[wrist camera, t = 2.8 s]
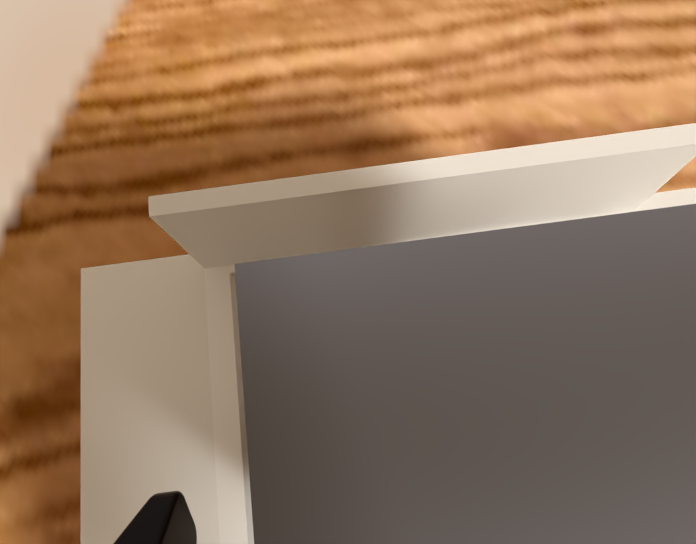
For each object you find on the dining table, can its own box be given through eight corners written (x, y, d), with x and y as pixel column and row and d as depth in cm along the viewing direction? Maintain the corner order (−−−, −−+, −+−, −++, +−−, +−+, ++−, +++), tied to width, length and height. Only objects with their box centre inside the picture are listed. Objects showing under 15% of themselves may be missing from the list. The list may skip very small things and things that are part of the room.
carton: (834, 798, 14) (1306, 1178, 7) (160, 872, 14) (-61, 1306, 7) (675, 234, 18) (873, 98, 11) (144, 303, 18) (-12, 217, 11)
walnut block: (542, 510, 16) (989, 723, 4) (352, 533, 16) (271, 803, 4) (513, 358, 17) (803, 188, 5) (335, 380, 17) (233, 264, 5)
